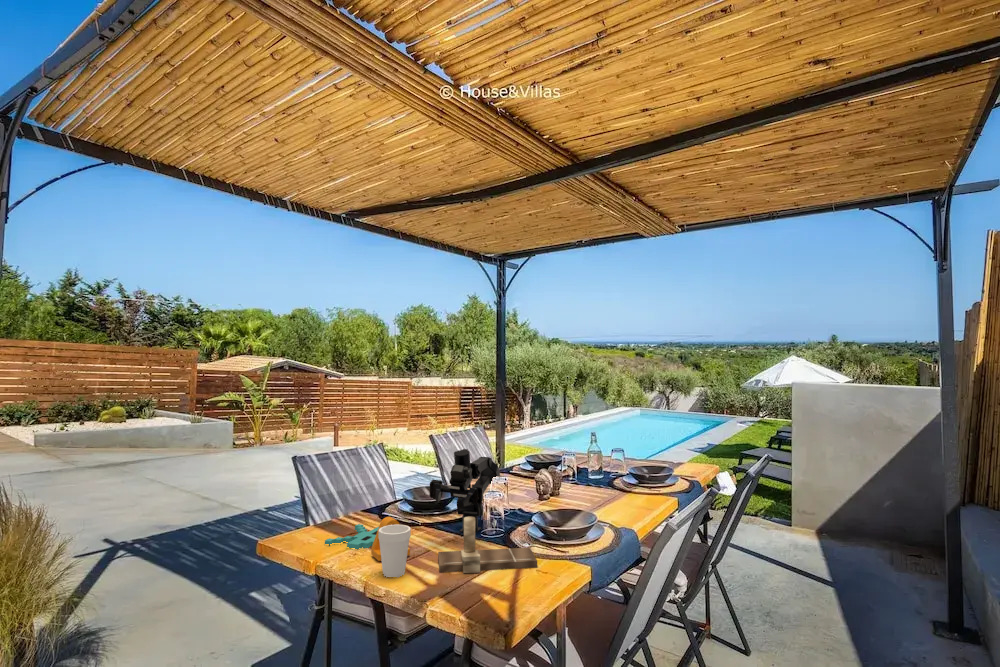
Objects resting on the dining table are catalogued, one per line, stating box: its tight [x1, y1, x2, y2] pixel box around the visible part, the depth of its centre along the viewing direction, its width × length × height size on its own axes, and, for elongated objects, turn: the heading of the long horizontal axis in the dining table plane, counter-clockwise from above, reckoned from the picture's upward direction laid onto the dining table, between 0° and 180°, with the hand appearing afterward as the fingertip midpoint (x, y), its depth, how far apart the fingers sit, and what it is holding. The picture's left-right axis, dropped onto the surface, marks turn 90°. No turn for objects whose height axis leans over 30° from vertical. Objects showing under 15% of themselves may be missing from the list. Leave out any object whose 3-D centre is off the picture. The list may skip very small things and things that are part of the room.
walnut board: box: [437, 547, 538, 573], centre depth 167 cm, size 30×12×2 cm, turn 98°
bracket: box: [370, 516, 411, 562], centre depth 172 cm, size 11×7×12 cm, turn 122°
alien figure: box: [324, 523, 379, 550], centre depth 189 cm, size 20×2×20 cm
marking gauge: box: [460, 517, 481, 574], centre depth 164 cm, size 5×10×14 cm, turn 8°
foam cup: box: [378, 524, 412, 578], centre depth 159 cm, size 10×9×13 cm
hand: (449, 503), depth 176 cm, fingers open, 9 cm apart
